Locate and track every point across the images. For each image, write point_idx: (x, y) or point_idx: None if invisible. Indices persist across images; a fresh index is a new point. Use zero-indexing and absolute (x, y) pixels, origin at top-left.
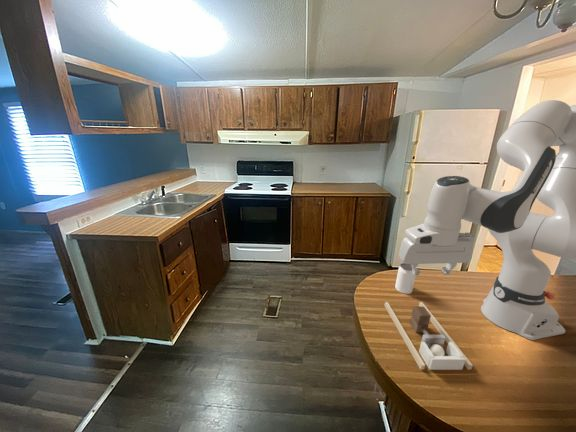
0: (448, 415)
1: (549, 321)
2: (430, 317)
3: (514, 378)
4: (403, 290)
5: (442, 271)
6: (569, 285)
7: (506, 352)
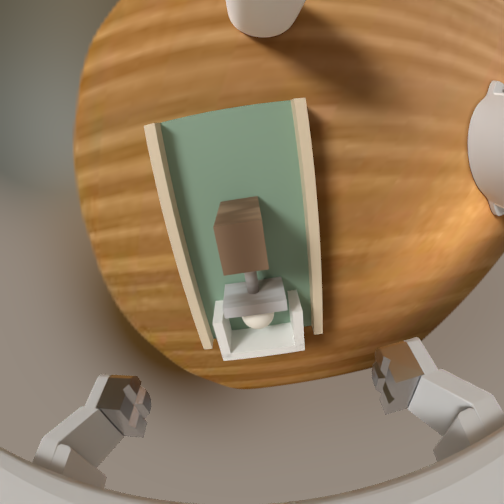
0: (232, 381)
1: None
2: (302, 178)
3: (394, 310)
4: (250, 28)
5: (379, 360)
6: None
7: (432, 253)
